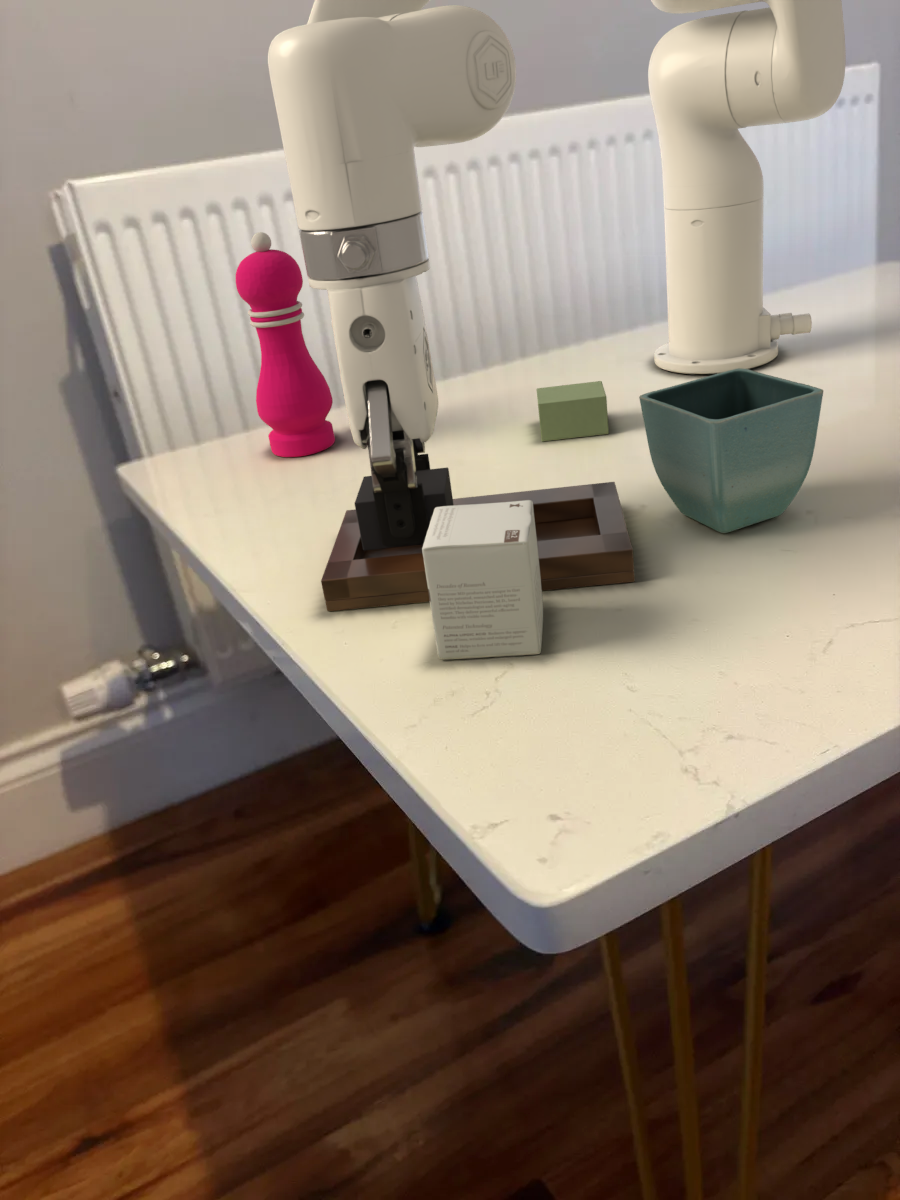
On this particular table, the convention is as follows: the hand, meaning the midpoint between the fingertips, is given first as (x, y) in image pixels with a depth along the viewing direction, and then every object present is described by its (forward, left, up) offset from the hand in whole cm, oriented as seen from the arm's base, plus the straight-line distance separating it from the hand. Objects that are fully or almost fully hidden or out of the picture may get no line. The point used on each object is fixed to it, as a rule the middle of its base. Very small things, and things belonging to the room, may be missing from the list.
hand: (409, 523), depth 71 cm
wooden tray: (-5, 0, -3) cm, 5 cm away
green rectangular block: (-13, -26, -3) cm, 29 cm away
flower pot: (-22, -3, -3) cm, 23 cm away
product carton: (-6, +11, -3) cm, 13 cm away
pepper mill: (+13, -30, -3) cm, 33 cm away
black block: (0, 0, -1) cm, 1 cm away
